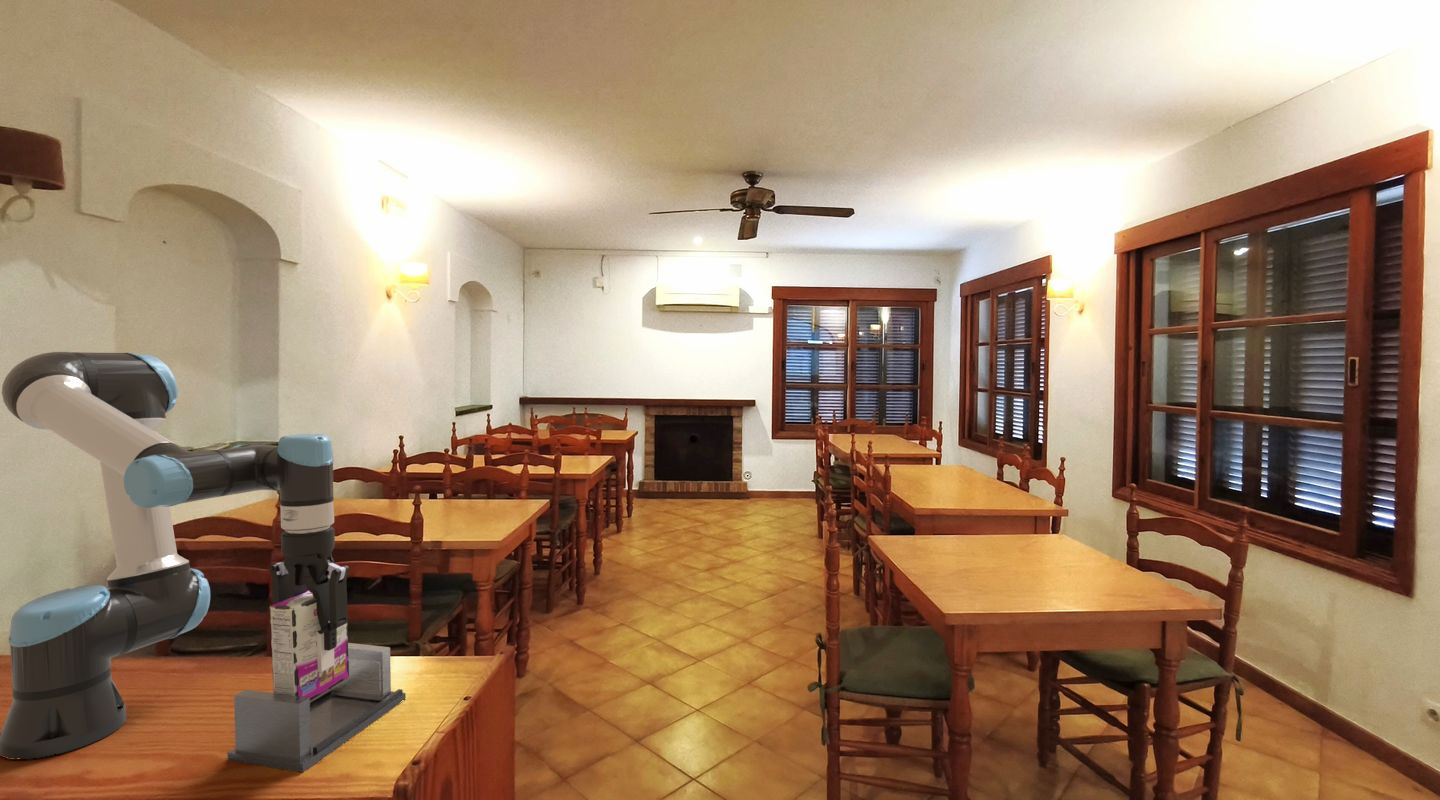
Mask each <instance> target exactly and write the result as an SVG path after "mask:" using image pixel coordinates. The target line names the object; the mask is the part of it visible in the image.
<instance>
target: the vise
mask: <svg viewBox="0 0 1440 800" xmlns="http://www.w3.org/2000/svg"><path fill="white" fill-rule="evenodd" d="M405 698H406V692H404V690H403V689H400V688H398V689H397V690H395V691H392V690H391V695H389V696H388V697H386V698H385V699H384V700H382V701H380V700H372V699H364V698H356V697H348V696H340V695H333V694H331V688H330V689H329V690H327V691H326V692H324V693H322V694H321V695H319V696H317V697H316V698H314V699H312V700H311V701H310V698H308V697H300V696H292V695H284V694H277V693H274V692H268V691H259V690H254V689H253V690H252V689H244V690H242V691H240V692H238V693H236V694H234V695H233V701H234V737H235V740H234V741H235V742H234V743H235V748H233V749H231V750H230V751H228V752H227V753H226V754H227V761H230V762H237V763H244V764H250V765H256V766H262V767H268V768H274V769H279V770H280V769H281V770H287V771H293V772H298V773H299V772H301V773H304V772H306V771H308V769H310V768H311V767H313V766H314V765H316V764H317V763H318V762H320V761H321V760H322V759H324V758H325V757H326V756H328V755H330V754H331V753H333V752H334V751H335V750H337V749H338V748H339V747H340V746H343V745H344V744H345V743H346V742H348V741H350V739H352V738H353V737H354V736H356V735H357V734H359V733H360V732H362V731H364V730H365V729H366V728H368V727H369V726H370V725H371V724H373V723H375V722H376V721H377V720H379V719H380V718H382V717H383V716H384V715H386V714H387V713H388V712H390V711H391V710H393V709H394V708H395V706H396V705H397V706H399V705H400V704H401V703H402V702H401V701H402V700H404V699H405ZM405 700H406V699H405ZM405 700H404V701H405ZM400 702H401V703H400ZM399 703H400V704H399ZM397 706H396V707H397ZM343 743H344V744H343Z"/></svg>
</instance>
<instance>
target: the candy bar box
mask: <svg viewBox="0 0 1440 800" xmlns="http://www.w3.org/2000/svg"><path fill="white" fill-rule="evenodd" d="M269 614H270V615H269V620H270V621H269V622H270V638H271V640H270V641H271V642H270V643H271V644H270V645H271V664H272V684H273V685H272V686H273V693H277V694H284V695H292V696H300V697H308V698H310V701H311V700H312V699H314V698H316V697H317V696H319V695H321V694H322V693H324V692H326V691H327V690H329V689H330V688H332V687H334V686H335V685H337V684H339V683H340V682H342V681H344V680H345V679H347V678H348V677H349V657H348V643H349V642H348V641H349V639H348V638H349V637H348V636H349V634H348V622H347V623H346V624H344V625H342V626H340V627H338V628H337V646H336V647H335V648H334V666H332V667H330V668H328V669H326V670H324V671H323V672H318V662H317V632H318V631H319V630H321V627H320V623H319V619H318V615H317V606H316V599H315V598H313V594H312V593H311V592H310V591H309V589H308V590H306V592H305V593H302V594H300V595H297V596H295V597H291V598H289V599H286V600H284V601H281V602H279V603H277V604H274V605H273V604H271V605H270V606H269ZM329 622H330V621H329ZM329 622H328V623H329Z"/></svg>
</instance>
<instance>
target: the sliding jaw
mask: <svg viewBox="0 0 1440 800" xmlns="http://www.w3.org/2000/svg"><path fill="white" fill-rule="evenodd" d="M348 657H349V677H348V678H347V679H345V680H344V681H342V682H340V683H339V684H337V685H335V686H334V687H332V688H331V694H333V695H340V696H348V697H356V698H364V699H372V700H380V701H382V700H384V699H385V698H386V697H388V696H389V695H391V691H392V686H391V685H392V683H391V681H392V679H391V676H392V675H391V674H392V673H391V647H390V646H382V645H381V646H379V645H373V644H362V643H353V642H348Z"/></svg>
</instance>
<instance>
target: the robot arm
mask: <svg viewBox="0 0 1440 800" xmlns="http://www.w3.org/2000/svg"><path fill="white" fill-rule="evenodd" d="M176 380H177V379H176V377H175V375H174V373H173V371H172V370H171V369H170V367H169V366H168V365H167V364H166V363H165V362H163V361H162V360H161V359H160V358H158V357H157V356H154V355H150V354H142V353H141V354H139V353H132V352H75V351H73V352H70V351H52V352H51V351H50V352H44V353H40V354H37V355H33V356H30V357H28V358H26V359H24V360H22V361H21V362H19V363H17V364H16V365H15V366H14V367H13V368H12V369H11V370H10V371H9V372H8V373H7V375H6V376H5V378H4V380H3V382H2V384H1V385H2V386H1V395H2V401H3V403H4V404H5V406H6V408H7V410H8V411H9V412H10V413H11V414H12V415H13V416H14V417H15V418H16V419H18V420H20V421H21V422H23V423H24V424H26V425H28V426H29V427H32V428H35V429H38V430H46V431H47V430H49V431H51V432H53V433H55V434H56V435H57V436H59V437H61V438H63V439H64V440H65V441H67V442H69V443H70V444H72V445H74V447H77V448H78V449H80V450H82V452H85V453H86V454H88V455H89V456H91V457H92V458H95V459H96V460H97V461H99V463H100V469H101V474H102V475H101V476H102V483H103V489H104V494H105V501H106V508H107V514H108V520H109V525H110V532H111V538H112V545H113V546H112V547H113V550H114V551H113V552H114V556H115V563H116V564H115V565H116V567H115V569H114V570H113V571H112V572H111V573H110V574H109V576H107V578H106V580H107V587H108V588H107V587H106V586H104V585H100V584H87V585H81V586H76V587H73V588H66V589H61V590H58V591H54V592H51V593H48V594H45V595H43V596H39V597H37V598H35V599H33V600H30V601H29V602H27V603H25V604H24V605H21V607H20V608H18V609H17V610H16V611H15V612H14V614H13V615H12V617H11V618H10V619H11V620H10V630H9V636H8V643H9V645H10V649H9V650H10V664H11V665H10V666H11V667H10V668H11V682H12V684H11V685H12V703H11V705H10V708H9V711H8V713H7V715H6V718H5V721H4V724H3V726H2V729H1V732H0V755H2V756H5V757H8V758H14V759H17V758H20V759H27V760H34V759H33V758H36V759H41V757H42V758H47V757H51V755H52V756H55V755H54V754H56V755H59V754H60V755H61V754H64V753H67V752H71V751H73V750H76V749H79V748H83V747H85V746H88V745H91V744H93V743H95V742H97V741H100V740H101V739H104V738H105V737H107V736H110V735H111V734H112V733H113V734H114V732H116V731H117V730H119V729H120V728H121V727H122V726H123V725H124V724H125V722H126V721H127V707H126V703H125V701H124V699H123V698H122V695H121V694H120V691H119V689H118V688H117V686H116V684H115V682H114V680H113V678H112V659H113V658H115V657H119V656H121V655H125V654H128V653H130V652H134V651H136V650H139V649H141V648H144V647H147V646H150V645H153V644H156V643H158V642H162V641H165V640H166V641H167V640H171V639H175V638H176V637H178V636H180V635H182V634H184V633H187V632H190V631H191V630H193V629H195V628H197V626H199V625H200V623H202V621H203V620H204V617H206V615H207V614H208V611H209V608H210V604H211V603H210V602H211V587H210V584H209V581H208V579H207V578H205V575H204V573H203V572H202V571H201V570H199V569H195V568H192V567H191V566H190V560H189V559H186V558H185V557H183V556H181V555H179V554H178V551H177V544H176V537H175V532H174V526H173V518H172V513H171V507H175V506H178V505H181V504H185V503H186V504H187V503H191V502H197V501H202V500H207V499H214V498H219V497H220V498H221V497H227V496H232V495H239V494H243V493H250V492H254V491H276V492H279V497H280V499H279V504H280V505H279V506H280V509H279V510H280V528H281V529H282V530H283V531H282V533H280V549H281V552H280V553H281V554H282V555H283V556H284V557H285V558H284V560H283V561H280V562H276V563H275V564H271V565H270V566H269V568H268V570H269V573H270V576H271V579H272V581H271V582H272V605H274V604H277V603H279V602H281V601H284V600H286V599H289V598H291V597H295V596H297V595H300V594H302V593H305V592H306V591H308V590H309V591H310V592H311V593H312V594H313V598H315V599H316V606H317V615H318V619H319V623H320V627H321V630H319V631H318V632H317V662H318V672H323V671H324V670H326V669H328V668H330V667H332V666H334V648H335V647H336V646H337V628H338V627H340V626H342V625H344V624H346V623H347V624H348V621H349V615H348V612H349V611H348V610H349V609H348V588H347V586H348V585H347V583H348V582H347V579H348V575H349V571H350V567H349V566H348V565H343V566H340V565H338V564H336V563H335V561H334V558H333V555H332V552H333V550H334V548H335V545H336V543H335V542H336V541H335V540H336V538H335V537H336V536H335V534H336V533H335V528H334V526H332V525H333V524H334V523H335V503H334V460H335V458H334V456H333V446H332V444H333V443H332V439H331V437H330V436H328V435H326V434H324V433H311V434H310V433H301V434H300V433H299V434H298V433H297V434H288V435H283V436H280V438H279V439H278V443H277V444H278V445H268V444H260V443H250V444H248V443H246V444H237V445H234V446H233V447H230V448H221V449H220V448H219V449H210V450H200V451H189V450H187V449H186V448H184V447H182V446H180V445H178V444H176V442H174V441H172V440H170V439H168V438H166V437H165V436H163V435H162V434H160V433H159V432H158V431H159V429H160V428H161V427H162V426H163V425H164V424H165V423H166V422H167V418H166V417H167V416H166V414H167V413H169V412H170V411H171V410H172V409H174V408H175V405H176V404H177V400H176V399H177V398H178V395H179V391H178V384H177V381H176ZM307 589H308V590H307ZM329 621H330V622H329ZM328 622H329V623H328ZM46 756H47V757H46Z"/></svg>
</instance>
